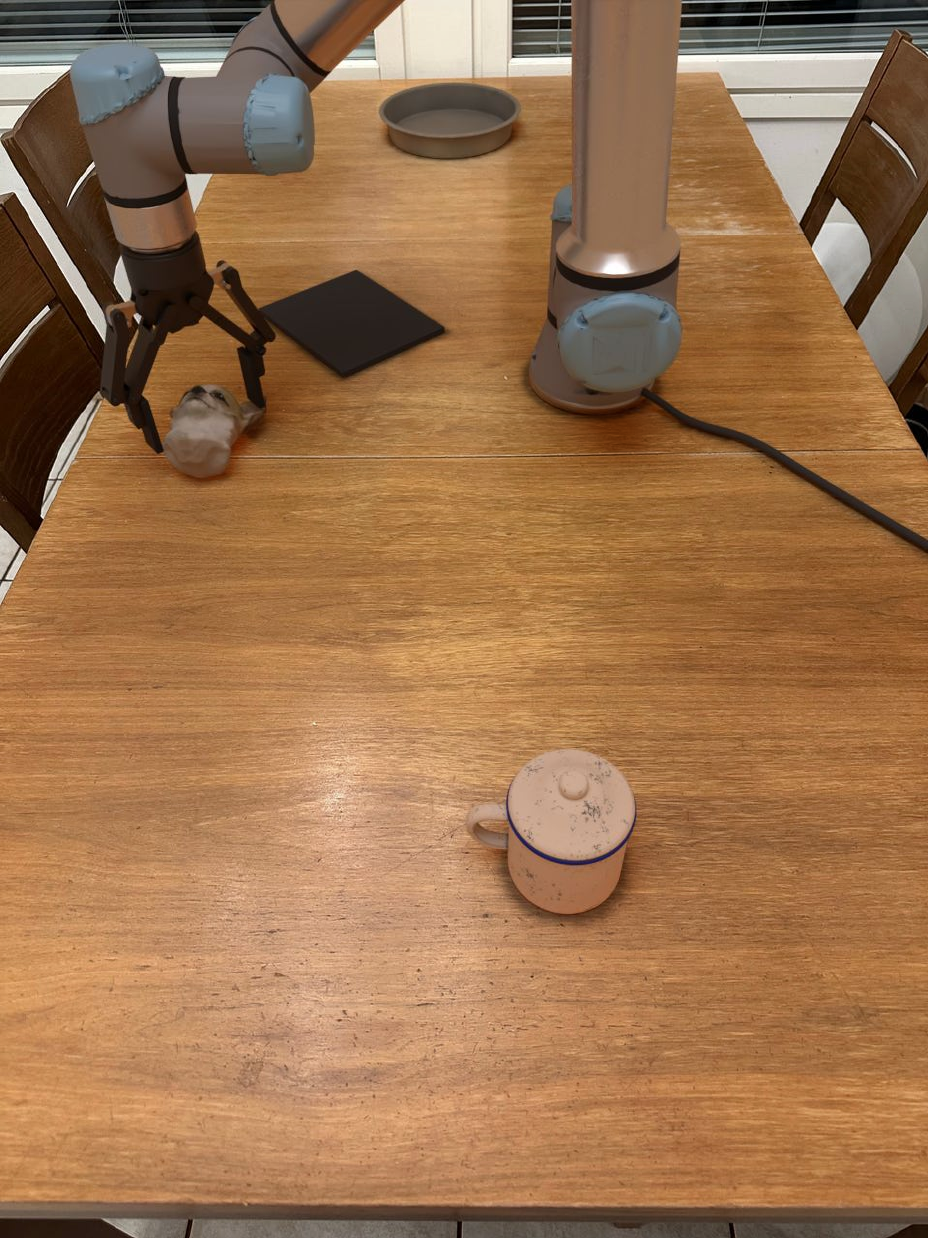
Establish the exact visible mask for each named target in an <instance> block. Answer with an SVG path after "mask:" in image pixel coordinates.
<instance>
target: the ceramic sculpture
mask: <svg viewBox="0 0 928 1238" xmlns="http://www.w3.org/2000/svg"><path fill="white" fill-rule="evenodd" d="M263 397H264V402H265V407H263V408H261V409H259V408H258V407H257V406H256V405H255V404H253V403H252V402H251V401H250V400H245V401H243V402H241V403H238V400H237V399H236V397H235V396H234V395H233V393H232V392H231V391H230V390H228V389H227V388H226V387H224V386H221V385H218V384H208V383H202V384H195V385H192V386H191V387H189V388H188V389H187V390H186V391H185V392H184V393H183V395H182V397H181V398H180V400H179V403H178V404H177V405H176V406H173V407H172V408H171V409H170V411H169V416H170V419H171V421H170V430H169V432H167V433H166V434H165V437H164V439H163V441H162V442H161V444H162V447H163V450H164V452H163V453H164V455H165V458H166V460H167V461H168V462H169V464H170V465H171V466H172V467H173V468H174V469H176V470H177V471H178V472H180V473H182V474H185V475H189V476H190V477H193V478H197V479H206V478H210V477H214V476H219V475H222V474H223V473H224V472H225V471H226V469H227V467H228V465H229V464H230V461H231V452H232V450H231V448H232V446H233V445H234V444H235V443H236V442H237V439H238V438H239V437H240V436H243V435H245V434H247V433H249V432H251V431H252V430H253V429H255V428H257V427H258V426H259V425H260V424H261V423H262V422H263V420H264V419H265V416H266V413H267V400H268V399H267V398H268V397H267V396H263Z"/></svg>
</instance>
